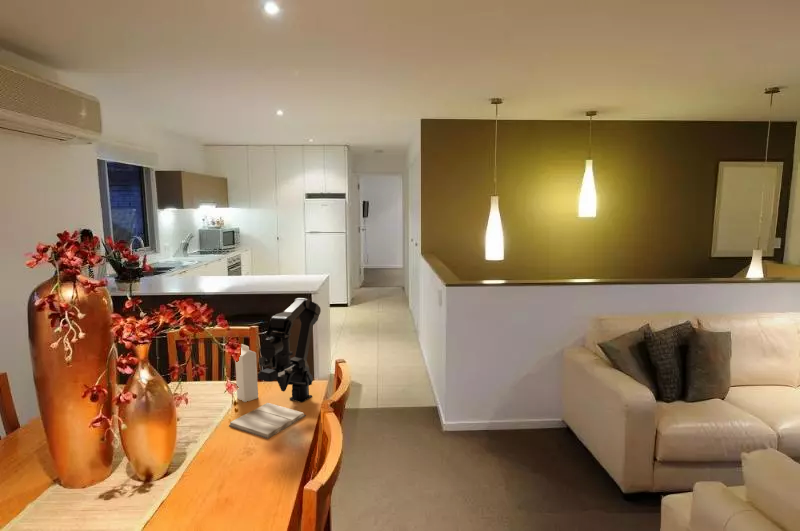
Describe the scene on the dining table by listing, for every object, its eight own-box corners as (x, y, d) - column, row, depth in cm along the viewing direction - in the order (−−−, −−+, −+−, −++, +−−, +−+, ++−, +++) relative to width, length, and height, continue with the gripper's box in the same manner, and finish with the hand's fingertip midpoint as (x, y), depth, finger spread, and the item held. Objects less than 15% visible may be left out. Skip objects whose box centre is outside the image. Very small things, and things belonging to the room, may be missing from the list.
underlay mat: (268, 405, 177) (268, 404, 177) (305, 415, 168) (305, 415, 168) (228, 426, 161) (228, 425, 161) (267, 438, 152) (267, 438, 152)
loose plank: (267, 405, 176) (267, 402, 176) (303, 415, 167) (303, 412, 167) (255, 412, 171) (255, 409, 171) (292, 422, 162) (292, 419, 162)
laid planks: (255, 412, 170) (255, 409, 170) (291, 423, 162) (291, 420, 161) (230, 425, 160) (230, 422, 160) (267, 437, 152) (267, 434, 152)
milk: (244, 402, 180) (241, 348, 177) (237, 398, 184) (233, 345, 181) (258, 397, 184) (255, 344, 181) (250, 393, 188) (248, 341, 185)
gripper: (283, 340, 178) (284, 378, 180) (246, 353, 162) (248, 395, 164) (305, 344, 173) (306, 384, 175) (269, 358, 157) (271, 402, 159)
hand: (283, 391), depth 168 cm, fingers closed
